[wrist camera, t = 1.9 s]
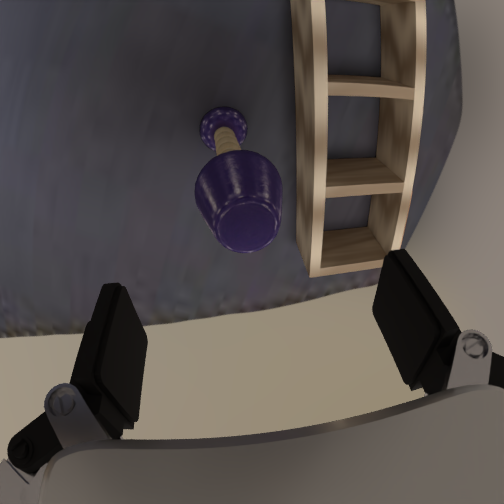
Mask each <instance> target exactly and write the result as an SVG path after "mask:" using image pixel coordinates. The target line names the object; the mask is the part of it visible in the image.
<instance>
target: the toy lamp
mask: <svg viewBox="0 0 504 504" xmlns="http://www.w3.org/2000/svg"><path fill="white" fill-rule="evenodd" d="M246 135H247V123H246V120H245V118H244V116H243V115H242V114H241V113H240V112H239V111H237V110H235V109H233V108H230V107H218V108H215V109H213V110H211V111H209V112H208V113H207V114H206V115H205V116H204V118H203V119H202V121H201V124H200V136H201V139H202V141H203V142H204V143H205V145H206V146H207V147H209V148H210V149H212V150H214V151H216V152H217V156H216V157H214V158H213V159H211V160H210V161H209V162H208V163H207V164H206V165H205V166H204V168H203V169H202V170H201V172H200V173H199V175H198V177H197V181H196V183H195V199H196V204H197V207H198V209H199V211H200V213H201V215H202V216H203V218H204V220H205V222H206V223H207V225H208V227H209V228H210V230H211V231H212V233H213V235H214V236H215V238H216V239H217V240H218V241H219V243H220V244H222V245H223V246H224V247H225V248H227V249H229V250H231V251H234V252H239V253H250V252H255V251H258V250H261V249H262V248H264V247H266V246H267V245H269V244H270V243H271V242H272V241H273V239H274V238H275V237H276V235H277V233H278V230H279V227H280V224H281V213H282V182H281V178H280V175H279V173H278V171H277V169H276V168H275V166H274V165H273V164H272V163H271V162H270V161H269V160H268V159H267V158H265V157H264V156H262V155H260V154H259V153H256V152H253V151H248V150H241V148H240V145H241V144H242V143H243V141H244V140H245V138H246Z"/></svg>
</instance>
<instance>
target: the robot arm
mask: <svg viewBox="0 0 504 504" xmlns="http://www.w3.org/2000/svg"><path fill="white" fill-rule="evenodd" d="M372 310H373V315H374V317H375V320H376V322H377V323H378V326H379V328H380V330H381V332H382V334H383V336H384V339H385V341H386V343H387V345H388V347H389V350H390V352H391V354H392V356H393V358H394V361H395V363H396V365H397V367H398V370H399V372H400V374H401V377H402V379H403V381H404V383H405V384H407V385H408V384H409V387H410V389H411V391H413V390H416V389H419V388H422V387H423V389H424V391H425V395H424V397H422V398H419V399H416V400H413V401H409V402H406V403H402V404H399V405H396V406H392V407H389V408H385V409H382V410H378V411H375V412H371V413H367V414H363V415H359V416H355V417H350V418H346V419H342V420H338V421H332V422H328V423H323V424H318V425H312V426H307V427H302V428H295V429H290V430H282V431H276V432H269V433H260V434H252V435H242V436H231V437H219V438H202V439H171V440H133V439H130V440H124V439H123V438H122V435H123V429H134V422H137V421H138V419H139V409H140V400H141V391H142V382H143V374H144V366H145V358H146V351H147V344H148V341H147V335H146V333H145V330H144V328H143V326H142V324H141V322H140V319H139V317H138V315H137V313H136V310H135V308H134V306H133V304H132V301H131V299H130V296H129V294H128V292H127V289H126V287H125V286H121V284H120V283H108V284H104V285H103V286H102V289H101V291H100V294H99V297H98V300H97V303H96V306H95V309H94V312H93V315H92V318H91V321H89V322H88V323H87V326H86V328H85V331H84V335H83V338H82V341H81V344H80V348H79V351H78V354H77V358H76V361H75V365H74V369H73V372H72V376H71V380H70V384H68V383H63V384H59V385H57V386H55V387H53V388H52V389H51V390H50V391H49V392H48V394H47V395H46V398H45V401H44V408H45V412H44V413H43V414H41V415H40V416H39V417H37V418H36V419H35V420H33V421H32V422H31V423H30V424H28V425H27V426H26V427H24V428H23V429H22V430H21V431H19V432H18V433H17V434H16V435H14V437H12V439H11V440H10V442H9V444H8V449H7V450H8V459H7V460H5V459H3V461H2V462H1V463H0V504H504V357H503V356H500V355H498V354H496V353H494V352H492V346H491V343H490V341H489V340H488V338H487V337H486V336H485V335H484V334H482V333H481V332H479V331H476V330H466V331H463V332H461V331H460V329H459V327H458V325H457V323H456V322H455V320H454V319H453V317H452V316H451V314H450V313H449V311H448V309H447V308H446V306H445V305H444V303H443V302H442V301H441V299H440V297H439V296H438V294H437V293H436V291H435V290H434V289H433V287H432V286H431V284H430V283H429V282H428V280H427V279H426V277H425V276H424V274H423V273H422V271H421V270H420V269H419V267H418V266H417V265H416V263H415V262H414V261H413V259H412V258H411V256H410V255H409V254H408V253H407V251H406V250H405V249H398V250H391V251H389V252H388V255H385V257H384V260H383V265H382V269H381V274H380V278H379V282H378V287H377V291H376V295H375V299H374V302H373V307H372Z"/></svg>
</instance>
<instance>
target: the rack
mask: <svg viewBox="0 0 504 504" xmlns="http://www.w3.org/2000/svg"><path fill="white" fill-rule="evenodd" d="M347 1H355V2H362V3H369V4H375V5H380V16H381V77H369V76H354V75H328V67H327V34H326V13H325V0H290V2H291V17H292V34H293V53H294V76H295V105H296V157H297V221H296V243H297V245H298V248H299V251H300V253H301V256H302V259H303V261H304V264H305V267H306V269H307V272H308V275H309V277H310V278H311V277H318V276H325V275H332V274H339V273H346V272H352V271H359V270H366V269H372V268H379V267H382V265H383V260H384V257H385V255H388V252H389V251H391V250H398V249H400V247H401V243H402V239H403V234H404V230H405V225H406V221H407V216H408V211H409V206H410V201H411V196H412V188H413V182H414V176H415V170H416V163H417V157H418V150H419V142H420V134H421V125H422V115H423V104H424V91H425V73H426V4H425V0H347ZM328 95H330V96H368V97H380V111H379V127H378V140H377V151H376V158H347V159H327V132H328ZM371 194H372V197H371V204H370V212H369V218H368V225H367V227H359V228H350V229H341V230H332V231H323V225H324V209H325V198H332V197H344V196H357V195H371Z"/></svg>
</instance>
